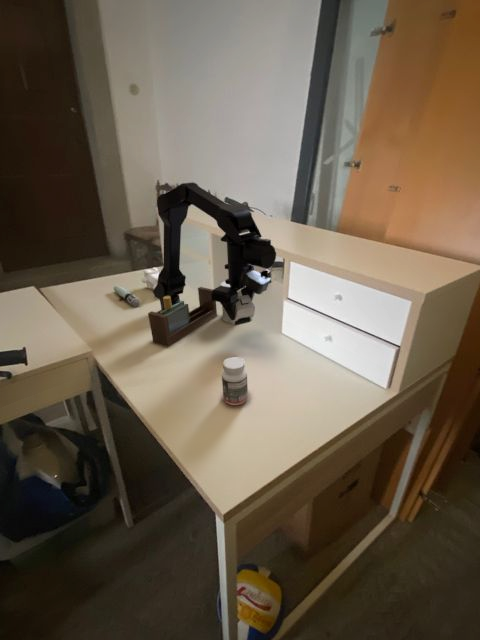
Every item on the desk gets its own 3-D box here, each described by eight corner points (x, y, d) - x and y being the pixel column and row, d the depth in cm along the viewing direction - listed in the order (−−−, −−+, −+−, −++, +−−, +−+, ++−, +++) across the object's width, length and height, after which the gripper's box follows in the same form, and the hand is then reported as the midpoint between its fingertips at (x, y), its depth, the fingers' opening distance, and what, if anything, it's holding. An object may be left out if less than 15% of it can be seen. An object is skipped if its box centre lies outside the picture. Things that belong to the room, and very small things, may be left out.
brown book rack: (153, 342, 105) (147, 313, 100) (203, 312, 123) (200, 286, 118) (168, 347, 102) (163, 317, 97) (217, 316, 120) (215, 289, 115)
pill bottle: (223, 391, 84) (221, 356, 79) (247, 390, 85) (246, 354, 79) (223, 406, 79) (220, 370, 74) (248, 405, 80) (247, 369, 75)
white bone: (178, 295, 136) (175, 274, 132) (156, 300, 132) (153, 279, 128) (162, 284, 147) (159, 265, 142) (142, 288, 142) (138, 269, 138)
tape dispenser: (231, 329, 102) (239, 314, 93) (223, 309, 103) (231, 292, 94) (249, 325, 104) (259, 309, 95) (242, 305, 106) (251, 288, 97)
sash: (161, 332, 106) (155, 300, 101) (183, 320, 113) (179, 289, 108) (166, 334, 105) (161, 301, 100) (188, 321, 112) (184, 290, 107)
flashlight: (107, 289, 137) (127, 305, 124) (116, 282, 138) (136, 296, 125) (113, 295, 139) (133, 311, 126) (121, 288, 140) (142, 303, 127)
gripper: (245, 276, 82) (247, 335, 90) (282, 256, 96) (280, 308, 104) (207, 268, 86) (211, 325, 94) (247, 250, 100) (248, 301, 108)
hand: (240, 314), depth 100 cm, fingers closed on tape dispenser, 7 cm apart
